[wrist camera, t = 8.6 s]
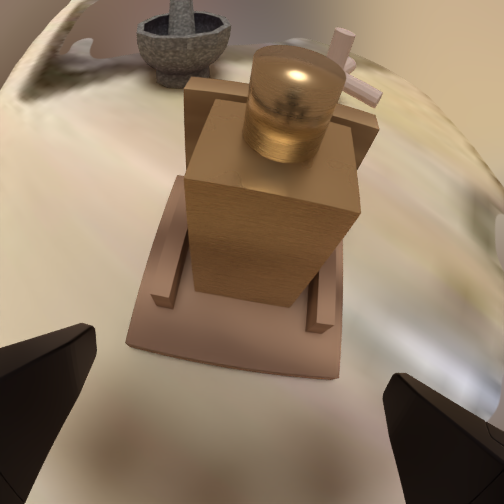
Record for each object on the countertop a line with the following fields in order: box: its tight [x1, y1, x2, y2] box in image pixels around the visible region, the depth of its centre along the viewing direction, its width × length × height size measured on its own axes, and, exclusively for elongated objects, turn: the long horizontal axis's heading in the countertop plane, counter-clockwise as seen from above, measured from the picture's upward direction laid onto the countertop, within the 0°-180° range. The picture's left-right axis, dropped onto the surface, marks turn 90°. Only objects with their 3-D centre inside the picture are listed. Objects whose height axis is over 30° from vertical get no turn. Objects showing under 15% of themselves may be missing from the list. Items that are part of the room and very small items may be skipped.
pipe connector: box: [327, 28, 383, 108], centre depth 24 cm, size 10×10×10 cm
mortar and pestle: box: [137, 0, 231, 88], centre depth 25 cm, size 11×9×12 cm
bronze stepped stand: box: [125, 77, 379, 380], centre depth 15 cm, size 12×12×10 cm
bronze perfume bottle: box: [184, 45, 361, 308], centre depth 13 cm, size 4×6×12 cm
